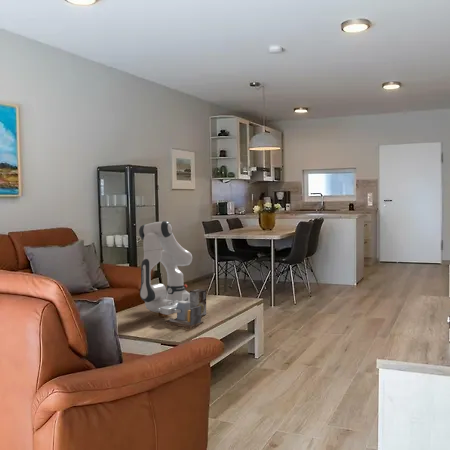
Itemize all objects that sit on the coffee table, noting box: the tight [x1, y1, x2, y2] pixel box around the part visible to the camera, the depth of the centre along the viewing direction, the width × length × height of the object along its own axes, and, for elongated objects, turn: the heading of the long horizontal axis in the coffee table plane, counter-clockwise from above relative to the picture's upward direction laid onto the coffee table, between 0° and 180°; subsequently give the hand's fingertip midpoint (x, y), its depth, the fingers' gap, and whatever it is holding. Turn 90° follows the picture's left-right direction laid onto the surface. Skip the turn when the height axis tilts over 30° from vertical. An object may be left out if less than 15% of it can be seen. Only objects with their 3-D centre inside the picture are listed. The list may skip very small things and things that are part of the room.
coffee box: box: [189, 288, 207, 316], centre depth 330 cm, size 9×6×16 cm
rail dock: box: [165, 306, 204, 329], centre depth 310 cm, size 14×18×11 cm
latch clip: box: [188, 310, 191, 322], centre depth 307 cm, size 6×2×8 cm, turn 145°
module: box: [176, 301, 190, 321], centre depth 310 cm, size 5×6×12 cm
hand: (184, 310), depth 310 cm, fingers closed on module, 5 cm apart
